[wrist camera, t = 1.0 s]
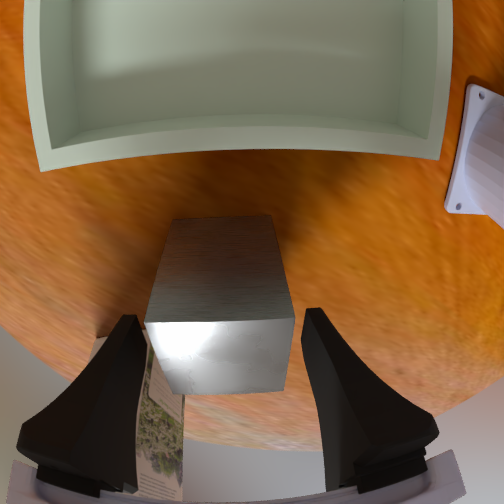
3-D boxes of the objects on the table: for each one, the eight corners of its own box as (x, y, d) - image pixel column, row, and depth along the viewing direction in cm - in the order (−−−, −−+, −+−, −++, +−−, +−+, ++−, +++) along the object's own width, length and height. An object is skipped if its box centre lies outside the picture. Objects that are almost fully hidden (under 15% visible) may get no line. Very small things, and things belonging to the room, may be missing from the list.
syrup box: (92, 337, 20) (51, 517, 8) (156, 324, 20) (130, 541, 8) (131, 376, 23) (112, 532, 12) (190, 368, 23) (186, 545, 11)
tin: (270, 215, 15) (295, 317, 10) (267, 288, 18) (283, 390, 13) (172, 219, 15) (143, 322, 9) (185, 291, 18) (172, 394, 12)
